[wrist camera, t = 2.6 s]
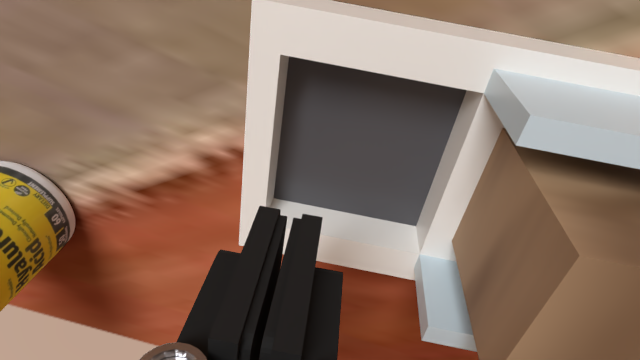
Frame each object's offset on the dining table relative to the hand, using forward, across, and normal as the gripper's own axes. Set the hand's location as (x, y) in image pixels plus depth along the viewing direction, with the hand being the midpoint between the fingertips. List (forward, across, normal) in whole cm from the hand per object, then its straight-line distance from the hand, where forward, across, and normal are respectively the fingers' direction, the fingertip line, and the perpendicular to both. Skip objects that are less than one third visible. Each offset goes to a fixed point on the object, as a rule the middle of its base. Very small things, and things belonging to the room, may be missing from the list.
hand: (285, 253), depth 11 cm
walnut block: (+4, -9, 0) cm, 10 cm away
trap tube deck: (+6, -11, 0) cm, 12 cm away
